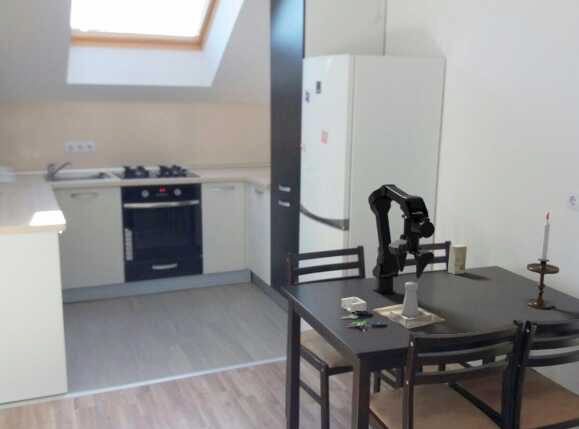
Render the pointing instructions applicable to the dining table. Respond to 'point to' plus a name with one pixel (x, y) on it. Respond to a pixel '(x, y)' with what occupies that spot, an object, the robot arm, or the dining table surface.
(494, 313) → the dining table surface
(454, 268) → the skincare box
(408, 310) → the salt shaker
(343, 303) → the end cap
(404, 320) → the board
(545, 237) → the candlestick
